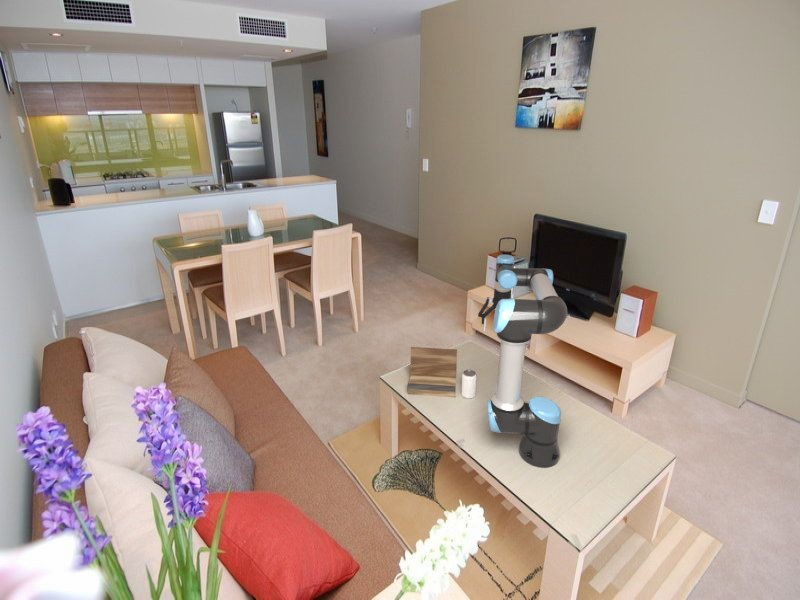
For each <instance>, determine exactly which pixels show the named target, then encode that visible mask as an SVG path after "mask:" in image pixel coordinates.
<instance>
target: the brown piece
mask: <svg viewBox="0 0 800 600" xmlns="http://www.w3.org/2000/svg"><path fill="white" fill-rule="evenodd" d="M457 357H458V349H456V348H441V347H440V348H437V347H436V348H435V347H421V346H419V347H418V346H416V347H415V346H411V347H410V378H409V382H408V383H407V394H408V395H412V396H413V395H416V396H417V395H419V396H433V397H443V398H444V397H447V398H456V390H457V389H456V386H457V384H456V383H457V362H458V359H457Z"/></svg>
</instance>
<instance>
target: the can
mask: <svg viewBox="0 0 800 600" xmlns="http://www.w3.org/2000/svg"><path fill="white" fill-rule="evenodd" d="M476 390H477V374H476V371H474V370H472V369H466V370H464V371H463V372H462V375H461V396H462V397H463V398H464V399H468V400H469V399H474V398H475V397H476Z"/></svg>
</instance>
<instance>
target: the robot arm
mask: <svg viewBox="0 0 800 600" xmlns="http://www.w3.org/2000/svg"><path fill="white" fill-rule="evenodd" d="M514 265H515V257H514V256H513V255H510V254H499V255H498V256H497V257H496V261H495V277H494V287H493V288H494V290H493V298H490V297H489V296H487V297H486V300H485V303H484V304H483V306H482V307H481V309H480V310H479V312H478V313H477V314H478V318H481V325H483V332H486V329H487V327H486V326H487V316H489V314H491V313H492V312H493V311H494V315H493V321H492V322H493V323H492V324H493V325H492V328H493V329H492V330H493V332H495V333H496V336H497V338H498V339H499V340H500V348H499V357H498V359H499V360H498V370H497V371H498V372H497V381H496V382H497V384H496V392H495V393H494V394H493V395H492V397H491V399H490V400H487V402H486V403H487V413H488V414H487V415H488V423H489V424H488V425H489V430H490V431H492V432H493V433H498V434H499V433H500V434H516V435H517V434H519V435H524V436H523V437H522V439H521V441H520V442H519V445H518V446H519V447H518V453H519V456H520V458H522V460H523V461H524V462H526V463H527V464H529V465H531V466H533V467H538V468H542V469H543V468H550V467H554V466H556V464H557V463H559V461H560V455H561V451H560V448H559V447H560V446H559V444H558V436H559V430H560V424H561V421H562V419H561V418H562V417H561V416H562V414H561V413H562V411H561V409H560V406H559V405H558V404H557V403H556V402H555V401H553V400H552V399H550V398H547V397H543V396H534V397H532V398H530V399H529V401H528V402H524V399H523V398H522V397H521V391H522V383H523V382H522V381H523V375H524V374H523V373H524V365H525V364H524V363H525V353H526V347H527V343H529V342H530V341H531V340H532V335H546V334H550V333H553V332H555V331H556V330H558V329H559V328H560V327H561V326H563V324H564V323H565V321H566V320H567V316H568V307H567V305H566V302H565V301H564V300H563V298H561V297H560V296H559V295H558V293H557V292H556V289H555V288H554V286H553V282H554V271H553V270H552V269H549V268H544V267H542V268H533V267H532V268H531V267H530V268H525V267H524V268H523V267H520V268H519V267H514ZM515 287H531V290H532V292H533V295H534V297H535V299H528V298H527V299H526V298H525V299H523V298H512V289H513V288H515ZM490 303H493V304H492V305H491V306H490V307H489V308H488V306H489V304H490ZM487 308H488V309H487ZM486 309H487V310H486Z"/></svg>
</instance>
